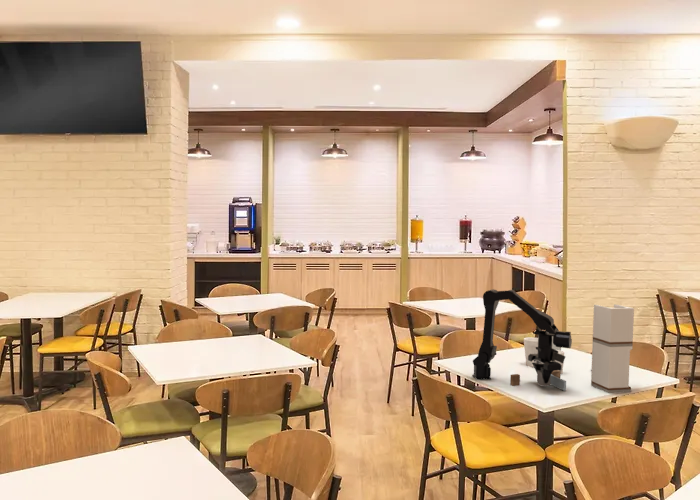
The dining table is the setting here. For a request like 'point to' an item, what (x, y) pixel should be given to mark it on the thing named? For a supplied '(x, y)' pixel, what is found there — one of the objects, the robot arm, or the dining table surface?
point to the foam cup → (530, 349)
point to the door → (558, 382)
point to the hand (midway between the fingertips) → (543, 382)
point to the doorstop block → (541, 380)
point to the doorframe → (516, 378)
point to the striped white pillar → (612, 348)
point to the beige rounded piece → (560, 362)
